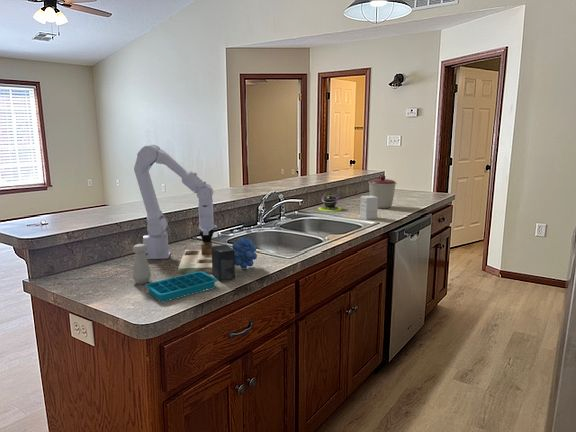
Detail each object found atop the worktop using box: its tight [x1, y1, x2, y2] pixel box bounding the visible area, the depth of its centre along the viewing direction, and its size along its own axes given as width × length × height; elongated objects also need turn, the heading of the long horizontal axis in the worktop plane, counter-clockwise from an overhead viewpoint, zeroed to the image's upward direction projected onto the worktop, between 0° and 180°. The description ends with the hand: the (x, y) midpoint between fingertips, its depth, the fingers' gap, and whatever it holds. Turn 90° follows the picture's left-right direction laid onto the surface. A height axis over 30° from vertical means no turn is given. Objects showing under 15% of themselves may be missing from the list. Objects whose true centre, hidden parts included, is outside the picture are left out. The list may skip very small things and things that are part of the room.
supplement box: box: [359, 195, 378, 221], centre depth 242 cm, size 7×7×13 cm
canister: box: [367, 174, 398, 209], centre depth 275 cm, size 18×18×21 cm
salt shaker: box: [131, 243, 151, 285], centre depth 140 cm, size 6×6×13 cm
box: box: [211, 244, 236, 282], centre depth 146 cm, size 8×6×11 cm
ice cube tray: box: [144, 271, 218, 302], centre depth 135 cm, size 12×20×3 cm, turn 130°
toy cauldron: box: [317, 191, 342, 212], centre depth 270 cm, size 15×15×11 cm
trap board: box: [177, 249, 212, 275], centre depth 162 cm, size 12×23×2 cm, turn 7°
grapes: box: [231, 237, 258, 270], centre depth 154 cm, size 12×7×12 cm, turn 134°
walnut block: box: [200, 241, 213, 255], centre depth 167 cm, size 4×4×4 cm
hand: (207, 248), depth 171 cm, fingers closed
